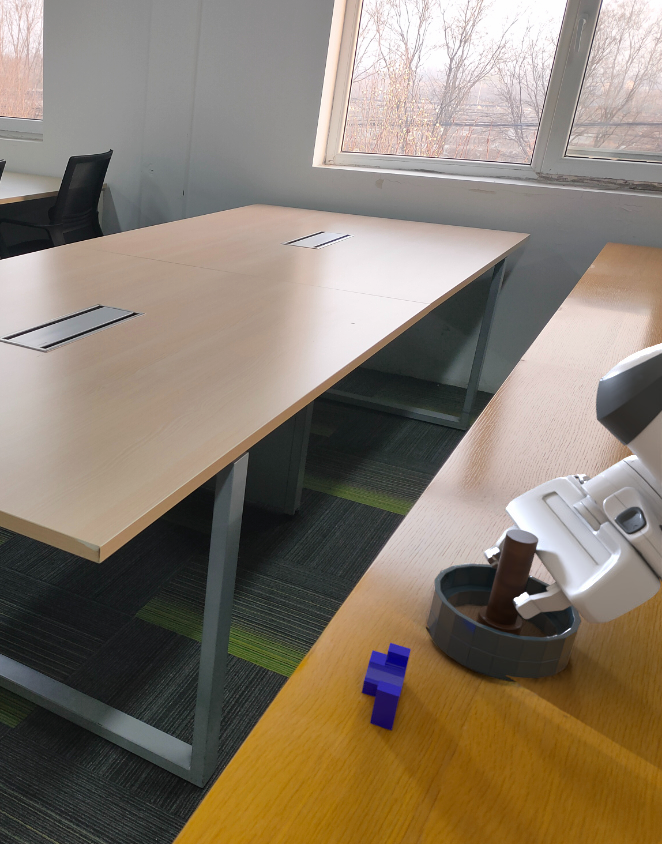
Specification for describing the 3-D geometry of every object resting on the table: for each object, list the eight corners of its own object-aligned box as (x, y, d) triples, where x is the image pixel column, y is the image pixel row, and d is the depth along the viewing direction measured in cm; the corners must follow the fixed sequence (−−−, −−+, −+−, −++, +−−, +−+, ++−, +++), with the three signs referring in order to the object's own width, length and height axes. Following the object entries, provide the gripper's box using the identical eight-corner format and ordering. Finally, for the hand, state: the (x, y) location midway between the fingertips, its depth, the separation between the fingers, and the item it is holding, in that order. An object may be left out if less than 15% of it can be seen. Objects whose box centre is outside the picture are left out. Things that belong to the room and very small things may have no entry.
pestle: (525, 643, 87) (554, 540, 82) (502, 657, 85) (531, 551, 80) (487, 622, 91) (514, 521, 86) (464, 635, 88) (490, 532, 83)
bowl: (591, 659, 86) (607, 612, 84) (518, 707, 79) (533, 657, 77) (472, 594, 97) (483, 551, 95) (398, 631, 90) (407, 585, 88)
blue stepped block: (368, 669, 84) (375, 638, 82) (403, 680, 82) (410, 648, 81) (353, 717, 77) (360, 683, 75) (391, 730, 75) (399, 696, 74)
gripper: (565, 449, 90) (457, 518, 94) (659, 541, 71) (518, 621, 76) (597, 488, 91) (488, 554, 96) (697, 589, 72) (556, 665, 77)
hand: (502, 584), depth 85 cm, fingers open, 8 cm apart
